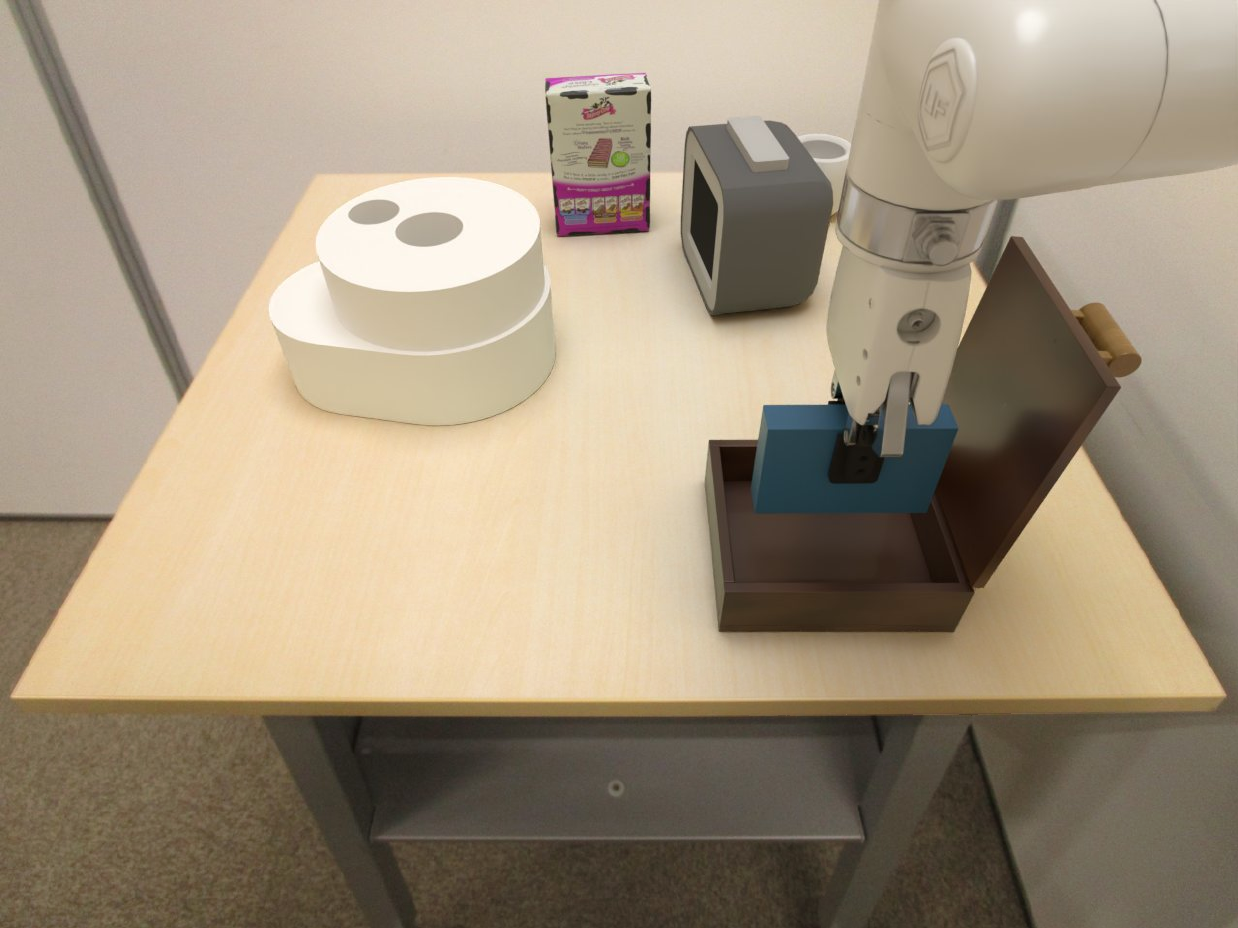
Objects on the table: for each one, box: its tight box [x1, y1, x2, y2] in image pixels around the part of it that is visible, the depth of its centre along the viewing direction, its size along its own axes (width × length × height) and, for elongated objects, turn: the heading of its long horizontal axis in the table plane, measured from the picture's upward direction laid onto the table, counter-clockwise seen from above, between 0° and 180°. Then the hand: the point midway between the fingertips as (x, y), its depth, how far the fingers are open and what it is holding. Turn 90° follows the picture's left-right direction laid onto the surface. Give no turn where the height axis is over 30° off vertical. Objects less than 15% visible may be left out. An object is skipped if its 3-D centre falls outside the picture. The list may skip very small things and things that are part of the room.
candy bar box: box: [544, 72, 652, 237], centre depth 91 cm, size 11×5×16 cm, turn 95°
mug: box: [797, 133, 852, 217], centre depth 95 cm, size 12×8×8 cm
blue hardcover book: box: [751, 403, 959, 514], centre depth 55 cm, size 12×2×8 cm, turn 90°
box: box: [704, 439, 976, 633], centre depth 61 cm, size 17×15×5 cm
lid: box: [936, 235, 1142, 589], centre depth 52 cm, size 17×15×5 cm
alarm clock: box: [680, 115, 833, 316], centre depth 83 cm, size 16×11×16 cm
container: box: [268, 176, 557, 427], centre depth 74 cm, size 20×25×14 cm
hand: (847, 461), depth 55 cm, fingers closed on blue hardcover book, 2 cm apart
